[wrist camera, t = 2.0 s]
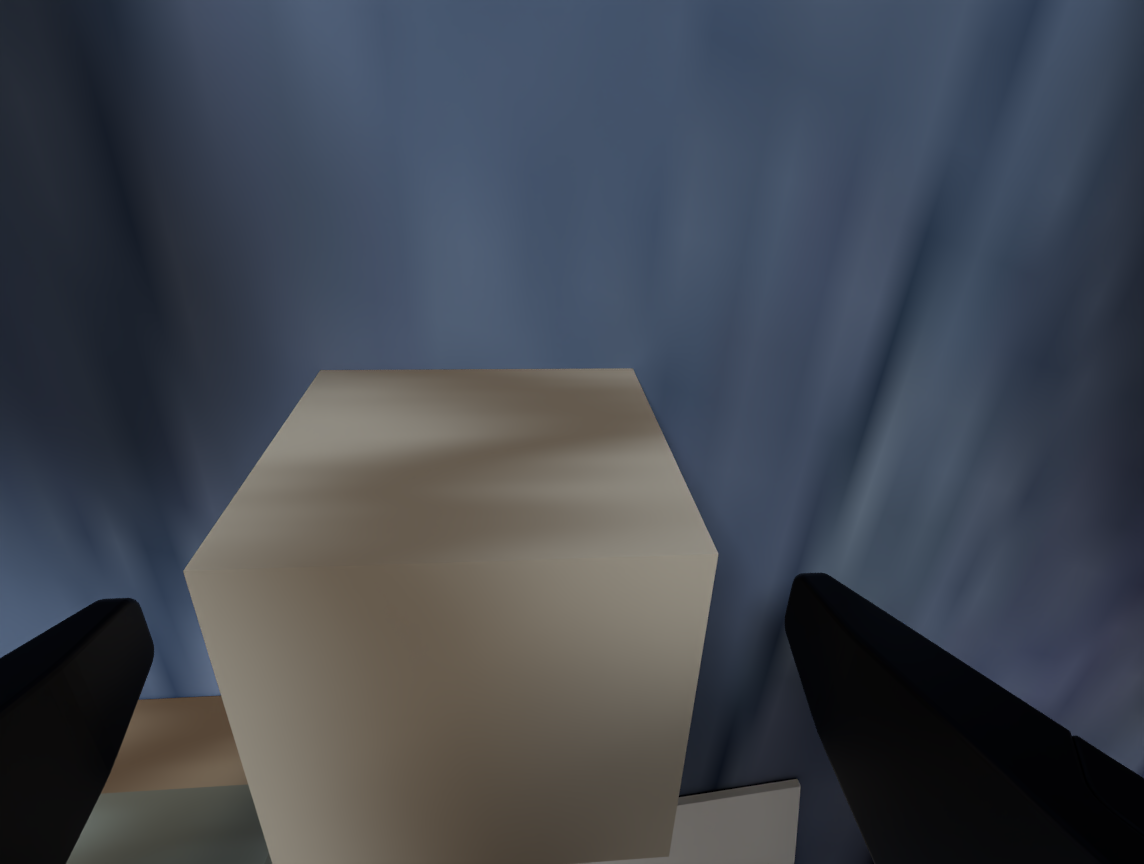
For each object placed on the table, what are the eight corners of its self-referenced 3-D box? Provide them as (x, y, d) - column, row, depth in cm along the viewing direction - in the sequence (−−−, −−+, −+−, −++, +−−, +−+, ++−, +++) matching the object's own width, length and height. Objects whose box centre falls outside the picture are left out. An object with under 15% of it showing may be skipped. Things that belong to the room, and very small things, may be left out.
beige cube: (632, 367, 11) (717, 553, 6) (614, 599, 13) (668, 855, 9) (321, 368, 10) (182, 570, 6) (359, 609, 13) (279, 886, 8)
